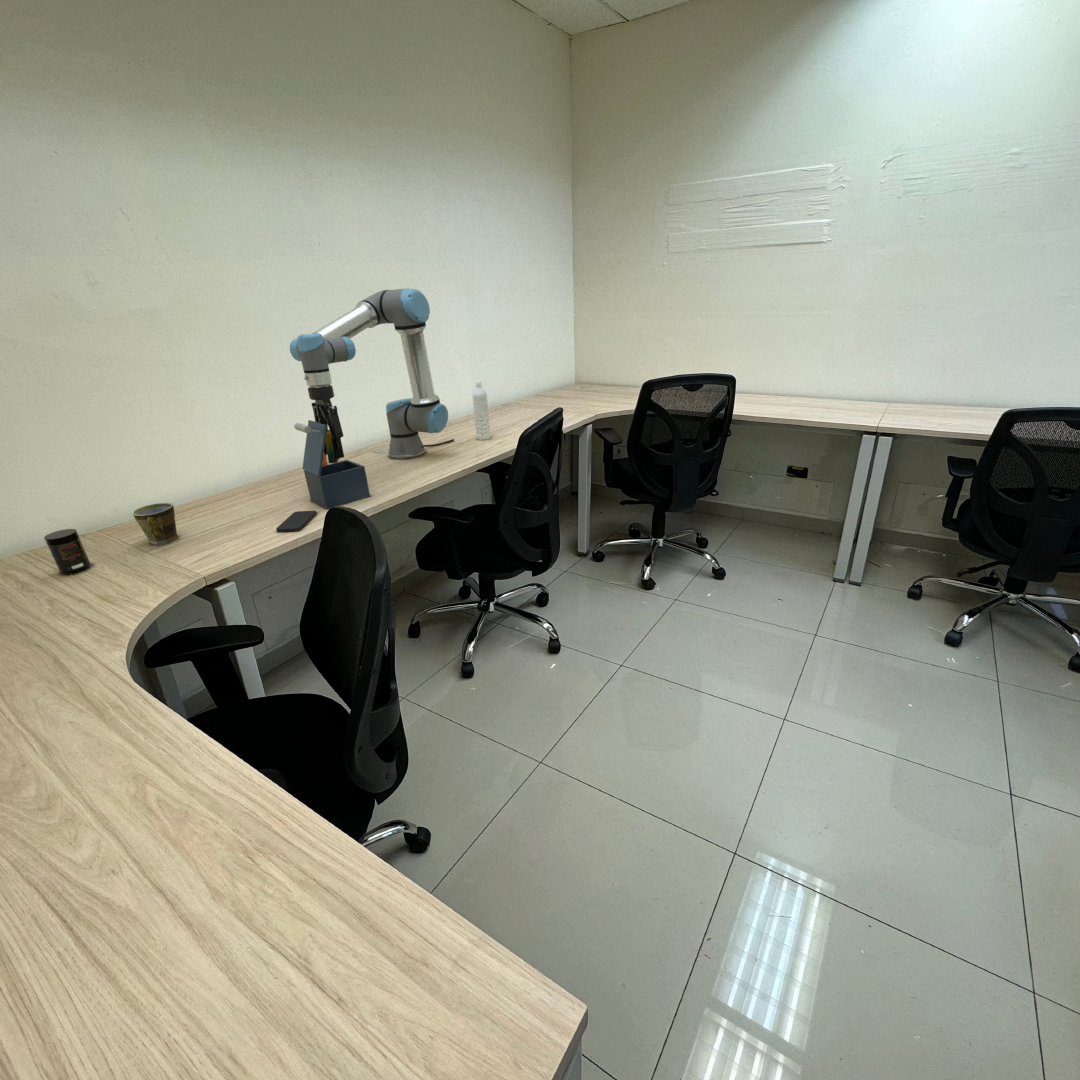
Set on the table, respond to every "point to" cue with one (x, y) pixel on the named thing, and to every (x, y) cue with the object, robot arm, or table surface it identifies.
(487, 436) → the water bottle
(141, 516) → the ceramic cup
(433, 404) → the robot arm
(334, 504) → the chest
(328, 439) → the crayon box
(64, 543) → the supplement container
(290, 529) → the phone
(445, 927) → the table surface
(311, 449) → the lid
